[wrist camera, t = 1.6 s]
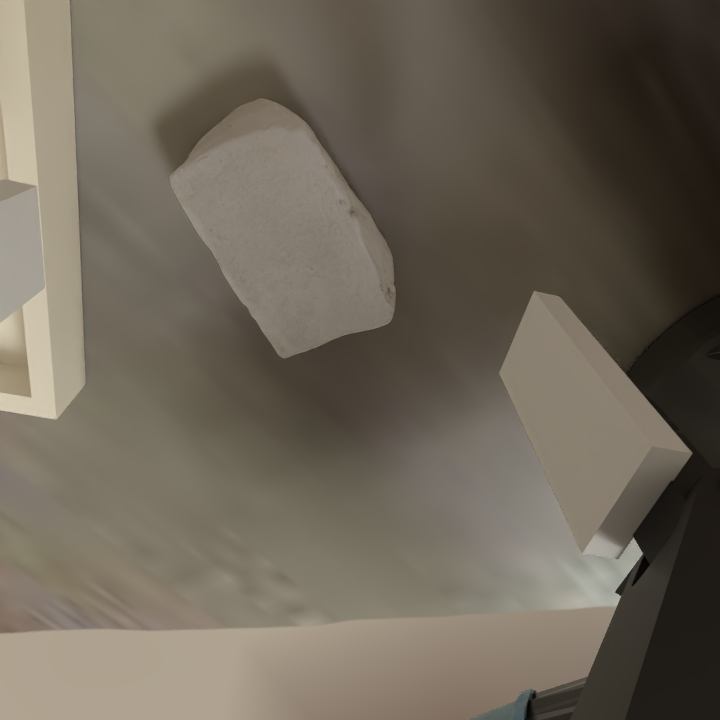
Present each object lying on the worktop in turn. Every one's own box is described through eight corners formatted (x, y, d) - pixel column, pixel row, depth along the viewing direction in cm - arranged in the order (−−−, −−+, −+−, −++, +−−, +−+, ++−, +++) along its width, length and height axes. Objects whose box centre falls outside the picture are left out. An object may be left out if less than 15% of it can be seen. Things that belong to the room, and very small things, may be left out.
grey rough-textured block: (228, 143, 24) (135, 136, 19) (343, 75, 21) (270, 47, 16) (310, 341, 26) (245, 383, 21) (426, 303, 23) (383, 341, 18)
